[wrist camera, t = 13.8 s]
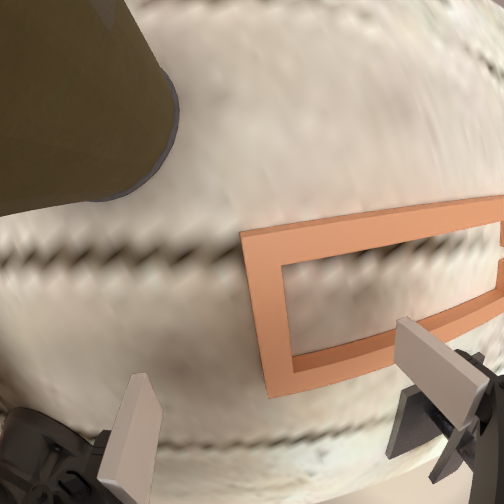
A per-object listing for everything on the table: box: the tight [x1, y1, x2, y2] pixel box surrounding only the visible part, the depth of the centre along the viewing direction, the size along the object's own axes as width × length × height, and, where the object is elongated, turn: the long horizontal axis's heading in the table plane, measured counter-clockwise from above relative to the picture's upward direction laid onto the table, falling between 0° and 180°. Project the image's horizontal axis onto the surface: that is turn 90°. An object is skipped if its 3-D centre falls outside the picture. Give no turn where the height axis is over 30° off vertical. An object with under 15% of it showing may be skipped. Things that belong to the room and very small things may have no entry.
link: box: [240, 195, 504, 399], centre depth 19 cm, size 28×12×2 cm, turn 99°
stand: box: [386, 352, 485, 484], centre depth 17 cm, size 12×15×17 cm
